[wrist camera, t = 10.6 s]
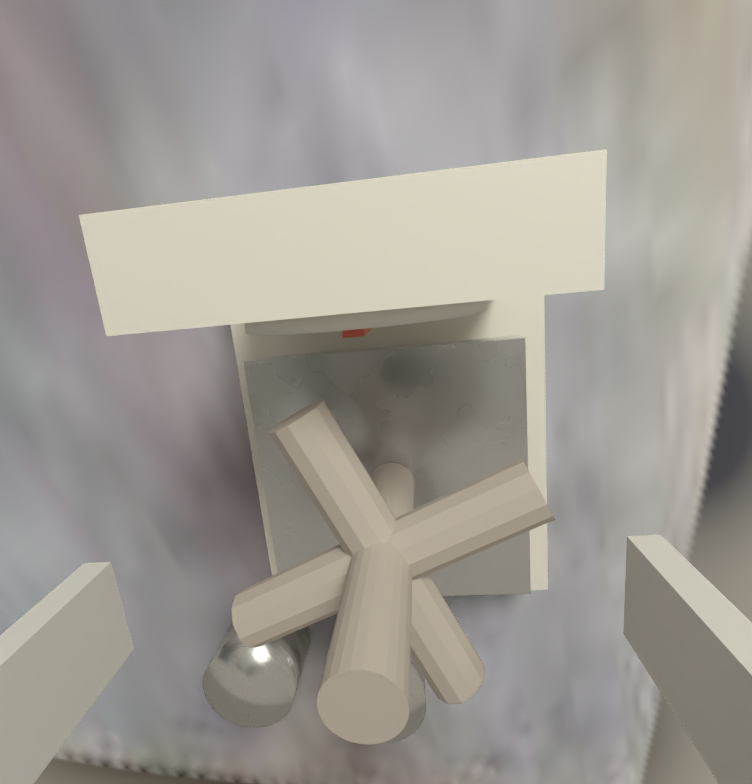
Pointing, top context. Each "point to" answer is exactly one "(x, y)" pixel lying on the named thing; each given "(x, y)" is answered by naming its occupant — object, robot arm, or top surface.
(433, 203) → the scale base
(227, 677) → the cylinder
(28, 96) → the top surface
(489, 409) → the pan
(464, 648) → the cream toy jack
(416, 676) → the cylinder
